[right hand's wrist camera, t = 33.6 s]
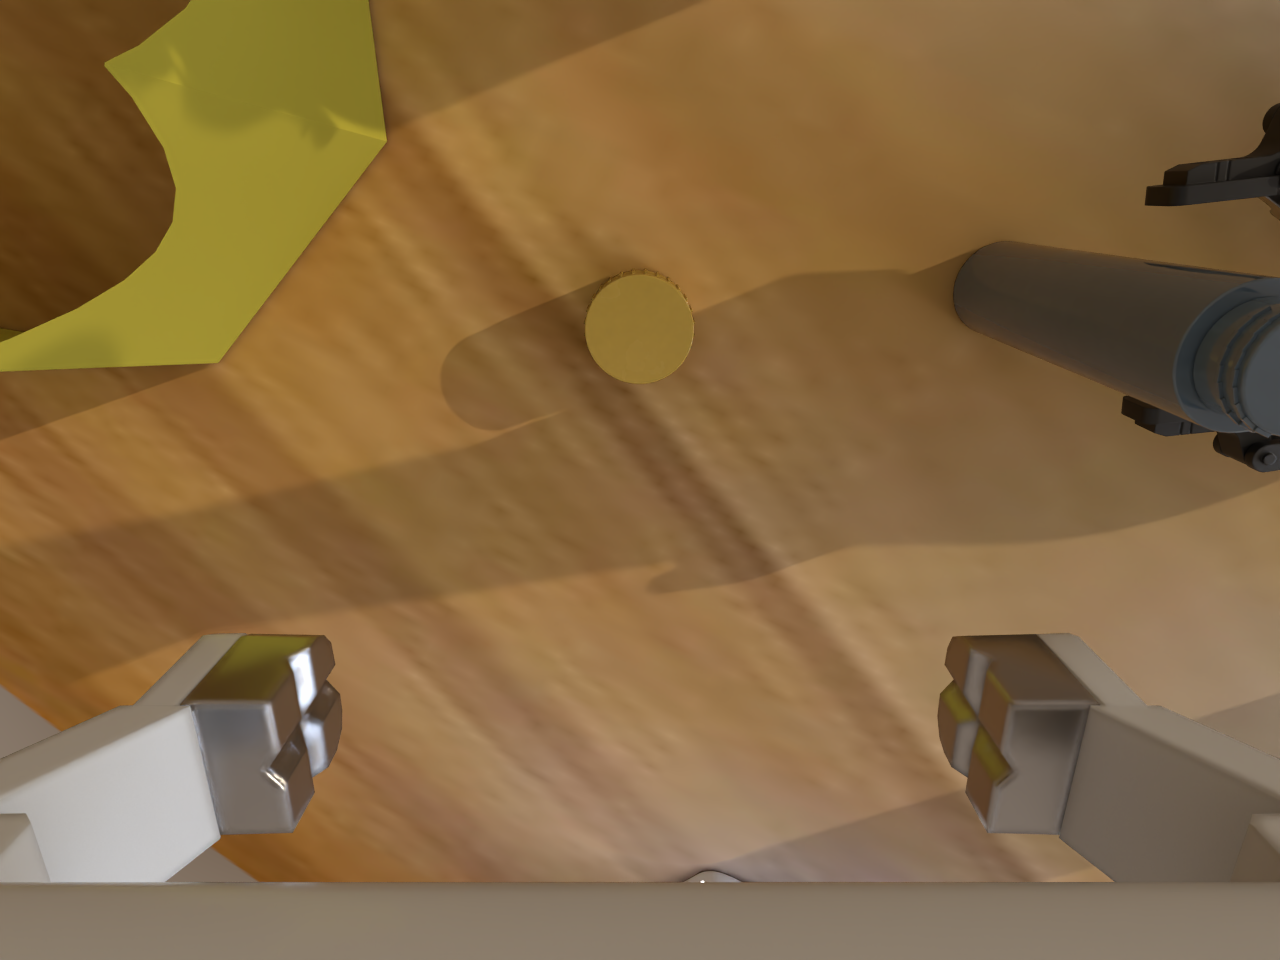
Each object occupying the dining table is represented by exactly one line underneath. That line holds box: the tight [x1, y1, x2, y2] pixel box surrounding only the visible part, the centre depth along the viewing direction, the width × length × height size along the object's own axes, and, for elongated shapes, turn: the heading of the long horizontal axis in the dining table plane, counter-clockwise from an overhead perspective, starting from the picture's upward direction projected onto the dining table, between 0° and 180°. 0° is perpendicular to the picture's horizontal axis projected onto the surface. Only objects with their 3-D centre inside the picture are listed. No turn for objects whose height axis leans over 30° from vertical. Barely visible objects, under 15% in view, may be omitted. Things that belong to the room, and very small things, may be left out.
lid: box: [584, 269, 695, 384], centre depth 37 cm, size 5×5×2 cm
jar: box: [953, 241, 1280, 438], centre depth 29 cm, size 4×4×19 cm
